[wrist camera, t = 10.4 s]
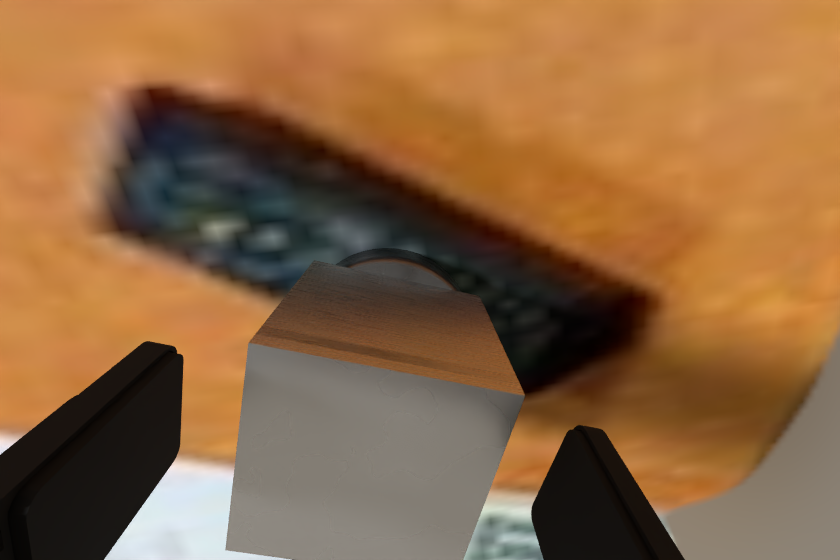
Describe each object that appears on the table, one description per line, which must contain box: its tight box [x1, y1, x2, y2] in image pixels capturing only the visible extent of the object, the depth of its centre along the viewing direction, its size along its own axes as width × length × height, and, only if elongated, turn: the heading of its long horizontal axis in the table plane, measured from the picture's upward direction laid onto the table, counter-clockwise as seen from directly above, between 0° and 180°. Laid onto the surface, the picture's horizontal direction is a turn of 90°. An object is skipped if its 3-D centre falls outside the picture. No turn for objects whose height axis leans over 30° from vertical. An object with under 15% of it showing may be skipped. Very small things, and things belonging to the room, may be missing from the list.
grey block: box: [226, 261, 525, 560], centre depth 12 cm, size 6×6×6 cm
